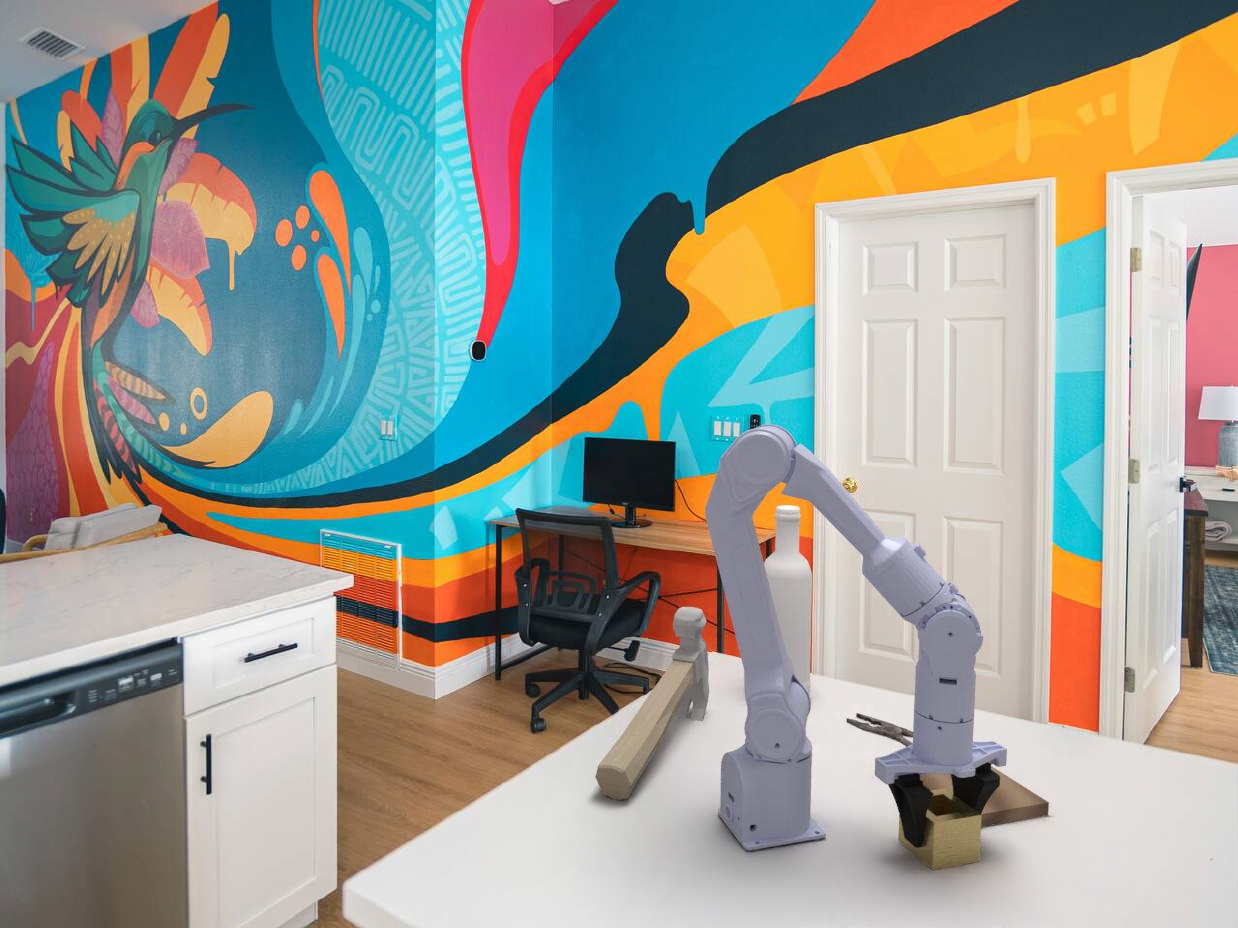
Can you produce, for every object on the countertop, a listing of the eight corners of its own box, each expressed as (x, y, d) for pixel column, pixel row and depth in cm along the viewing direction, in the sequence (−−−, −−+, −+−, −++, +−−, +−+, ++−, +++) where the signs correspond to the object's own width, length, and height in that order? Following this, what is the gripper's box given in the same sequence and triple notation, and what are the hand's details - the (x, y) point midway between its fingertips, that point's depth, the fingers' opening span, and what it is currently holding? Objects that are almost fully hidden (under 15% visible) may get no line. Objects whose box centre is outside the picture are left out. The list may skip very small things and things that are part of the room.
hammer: (624, 731, 90) (708, 607, 115) (587, 724, 92) (678, 603, 117) (636, 844, 94) (715, 700, 120) (601, 834, 96) (685, 695, 122)
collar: (932, 870, 80) (934, 822, 79) (898, 839, 85) (900, 795, 85) (979, 861, 81) (981, 814, 81) (943, 831, 87) (944, 787, 86)
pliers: (985, 777, 98) (828, 734, 110) (984, 783, 98) (828, 740, 110) (1001, 748, 106) (854, 711, 118) (1001, 754, 106) (853, 717, 118)
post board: (966, 829, 87) (968, 777, 86) (904, 781, 98) (905, 734, 97) (1048, 814, 90) (1051, 764, 89) (979, 770, 101) (981, 724, 100)
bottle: (800, 710, 119) (804, 512, 116) (750, 699, 123) (753, 508, 120) (816, 693, 126) (821, 505, 123) (769, 683, 130) (772, 501, 127)
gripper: (906, 736, 76) (901, 871, 77) (1031, 719, 80) (1025, 847, 81) (864, 707, 83) (860, 832, 84) (981, 693, 87) (976, 812, 88)
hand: (938, 837), depth 83 cm, fingers closed on collar, 6 cm apart
